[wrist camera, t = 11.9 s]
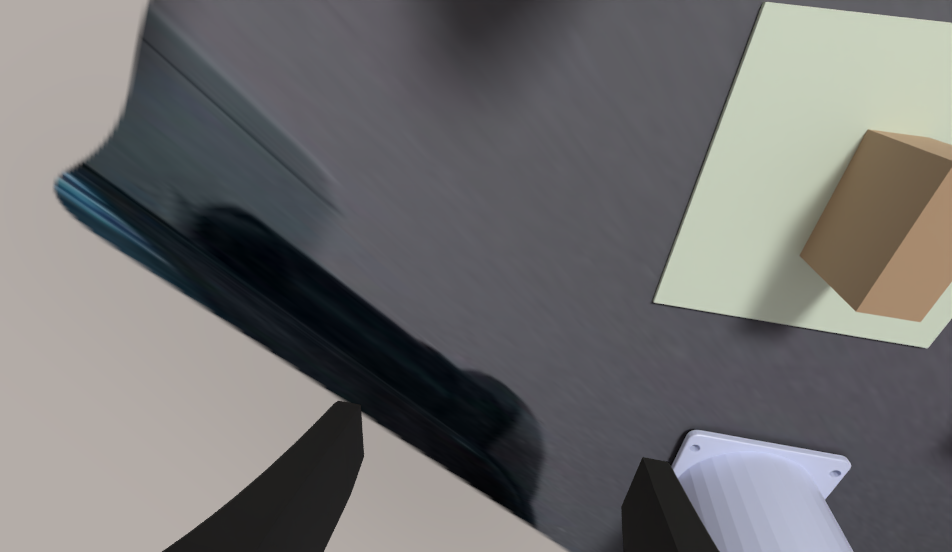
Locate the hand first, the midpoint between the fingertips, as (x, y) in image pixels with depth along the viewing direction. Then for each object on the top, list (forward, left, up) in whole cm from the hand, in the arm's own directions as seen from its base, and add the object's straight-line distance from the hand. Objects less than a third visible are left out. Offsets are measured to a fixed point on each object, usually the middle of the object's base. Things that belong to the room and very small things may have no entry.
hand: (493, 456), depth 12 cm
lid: (+5, -12, -11) cm, 17 cm away
